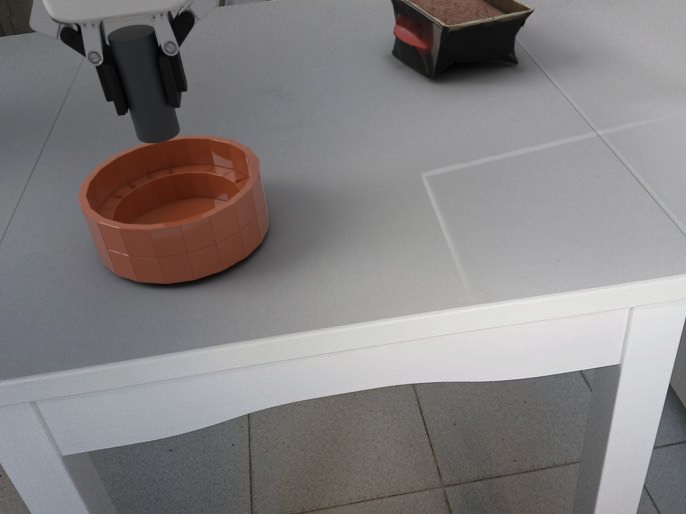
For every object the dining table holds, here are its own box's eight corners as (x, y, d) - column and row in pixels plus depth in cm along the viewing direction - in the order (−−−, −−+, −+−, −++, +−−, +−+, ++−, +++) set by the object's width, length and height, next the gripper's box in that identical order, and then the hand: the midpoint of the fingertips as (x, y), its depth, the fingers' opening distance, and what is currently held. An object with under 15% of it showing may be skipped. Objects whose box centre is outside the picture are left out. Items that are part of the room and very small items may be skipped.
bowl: (89, 300, 60) (64, 240, 56) (111, 203, 71) (92, 147, 67) (273, 275, 61) (262, 214, 57) (266, 182, 72) (256, 125, 68)
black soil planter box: (480, 42, 98) (473, -40, 93) (547, 68, 84) (544, -26, 78) (382, 71, 97) (368, -10, 91) (432, 103, 82) (420, 9, 76)
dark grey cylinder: (135, 146, 58) (104, 44, 52) (139, 126, 60) (110, 27, 55) (179, 140, 58) (152, 38, 52) (181, 121, 60) (156, 21, 55)
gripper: (205, -202, 48) (253, 72, 60) (-46, -171, 47) (54, 99, 60) (202, -188, 42) (255, 111, 55) (-82, -152, 42) (37, 140, 54)
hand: (150, 102), depth 57 cm, fingers closed on dark grey cylinder, 3 cm apart
